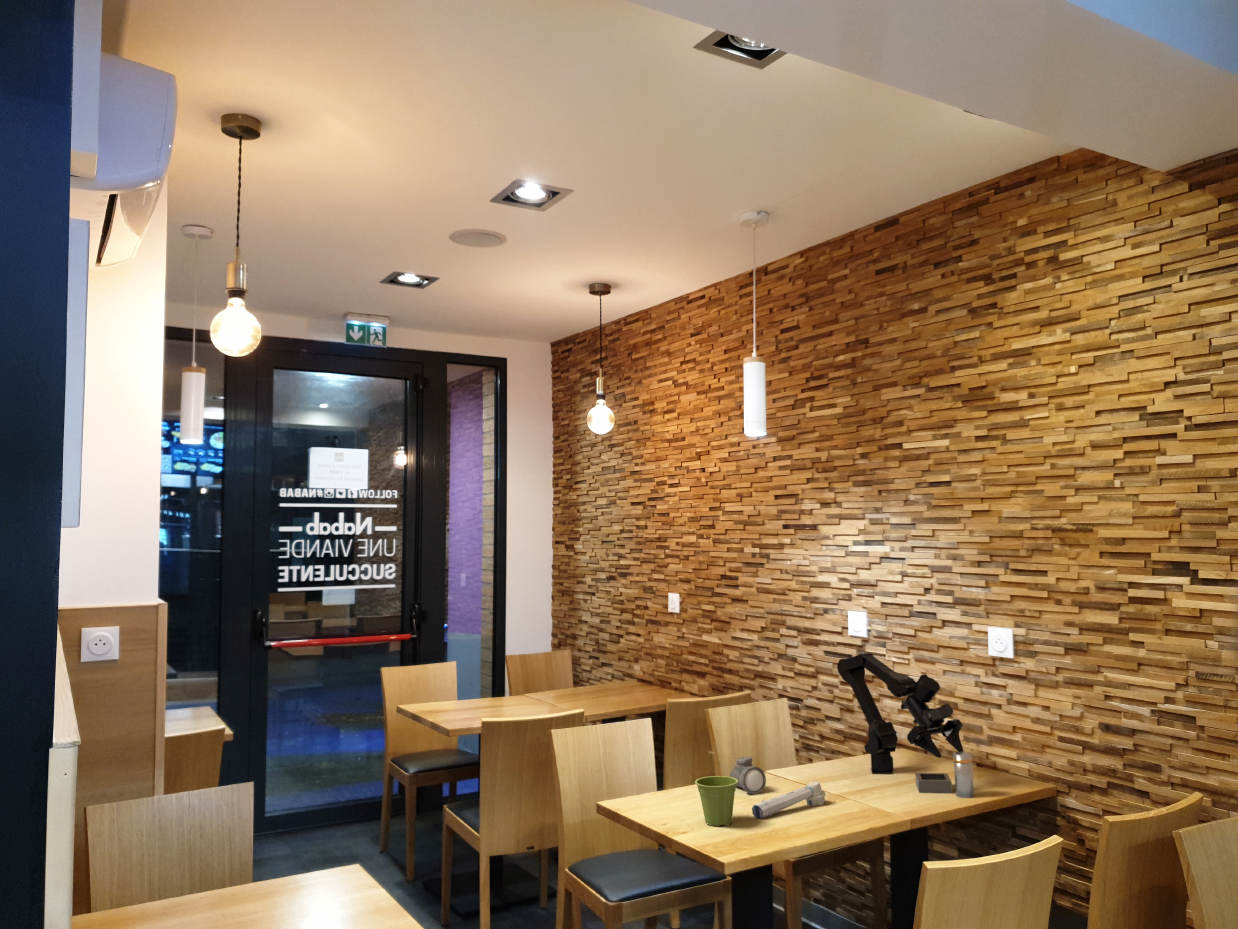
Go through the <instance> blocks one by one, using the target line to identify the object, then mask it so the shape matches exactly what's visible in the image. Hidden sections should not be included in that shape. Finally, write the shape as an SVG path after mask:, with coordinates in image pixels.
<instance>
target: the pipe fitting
mask: <svg viewBox="0 0 1238 929" xmlns="http://www.w3.org/2000/svg"><path fill="white" fill-rule="evenodd" d="M735 761H736V762H735V765H734V768H732V769H731V770H730V772H729V775H728V777H733V778H736V779H737V780H738V783H737V784H736V788H741V789H743V791H745V792H746V793H747V794H750V795H758V794H760V793H761V792H762V791H764V789H765V788H766V785H767V777H766V773H765V772H764V770H763V769H762V768H761V767H758V766H755V765H754V764H753V757H752V756H742V757H738V758H737V759H736V758H735Z"/></svg>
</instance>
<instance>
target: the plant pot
mask: <svg viewBox="0 0 1238 929" xmlns="http://www.w3.org/2000/svg"><path fill="white" fill-rule="evenodd" d="M694 783H695V785H696V786H697V790H698V792H699V797H700V801H701V806H702V811H703V816H704V821H705V823H706V824H707V823H708V824H711V825H710V826H713V825H715V826H714V827H720V826H728V825H731V824H732V822H733V814H734V813H733V812H734V802H735V801H734V800H735V792H736V788H737V787H736V784H737V783H738V780H737V779H736V778H733V777H729V776H725V775H724V776H722V775H713V776H712V775H711V776H710V775H709V776H703V777H699V778H697V779H695V782H694ZM708 824H707V825H708Z"/></svg>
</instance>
